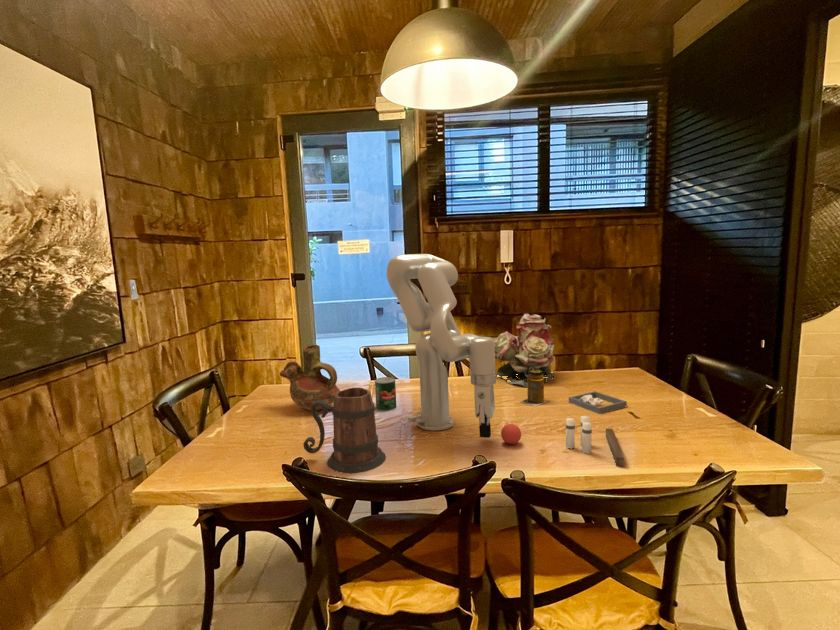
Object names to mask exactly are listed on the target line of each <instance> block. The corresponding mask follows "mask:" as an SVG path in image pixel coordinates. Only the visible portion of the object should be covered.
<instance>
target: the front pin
mask: <svg viewBox="0 0 840 630" xmlns="http://www.w3.org/2000/svg"><path fill="white" fill-rule="evenodd" d="M575 423H576V420H575V418H572V417H567V418H565V448H566V447H567V448H566V449H568V448H570V449H569V450H573V449H572V448H574V449H575V447H576V446H575V444H576V442H575V440H576V439H575V437H576V436H575V432H576V431H575V429H576V424H575Z"/></svg>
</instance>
